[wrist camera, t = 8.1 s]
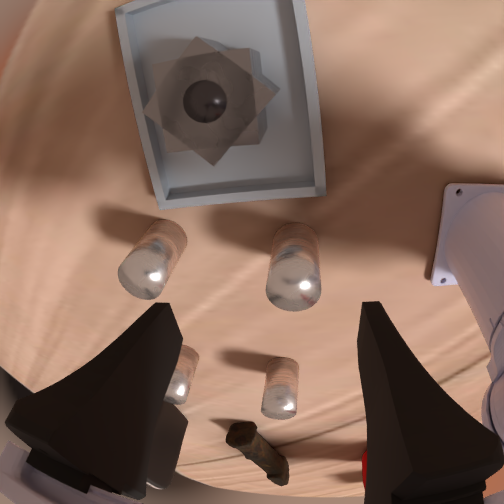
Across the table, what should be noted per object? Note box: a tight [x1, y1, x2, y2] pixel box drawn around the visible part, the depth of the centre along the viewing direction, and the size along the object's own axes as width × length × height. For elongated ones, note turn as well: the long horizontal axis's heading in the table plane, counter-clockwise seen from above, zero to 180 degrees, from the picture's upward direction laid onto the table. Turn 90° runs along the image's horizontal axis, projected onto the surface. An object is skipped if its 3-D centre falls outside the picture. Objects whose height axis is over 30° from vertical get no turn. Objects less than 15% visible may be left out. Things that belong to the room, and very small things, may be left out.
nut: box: [142, 36, 281, 166], centre depth 14 cm, size 6×6×4 cm
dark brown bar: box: [226, 422, 289, 486], centre depth 39 cm, size 19×4×5 cm, turn 21°
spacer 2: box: [163, 345, 199, 405], centre depth 28 cm, size 3×3×5 cm
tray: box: [115, 0, 327, 210], centre depth 16 cm, size 10×13×2 cm
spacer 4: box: [261, 357, 299, 420], centre depth 27 cm, size 3×3×5 cm
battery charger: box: [146, 401, 188, 489], centre depth 33 cm, size 7×4×11 cm, turn 19°
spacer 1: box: [118, 220, 187, 300], centre depth 20 cm, size 3×3×5 cm
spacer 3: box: [266, 223, 321, 311], centre depth 19 cm, size 3×3×5 cm
